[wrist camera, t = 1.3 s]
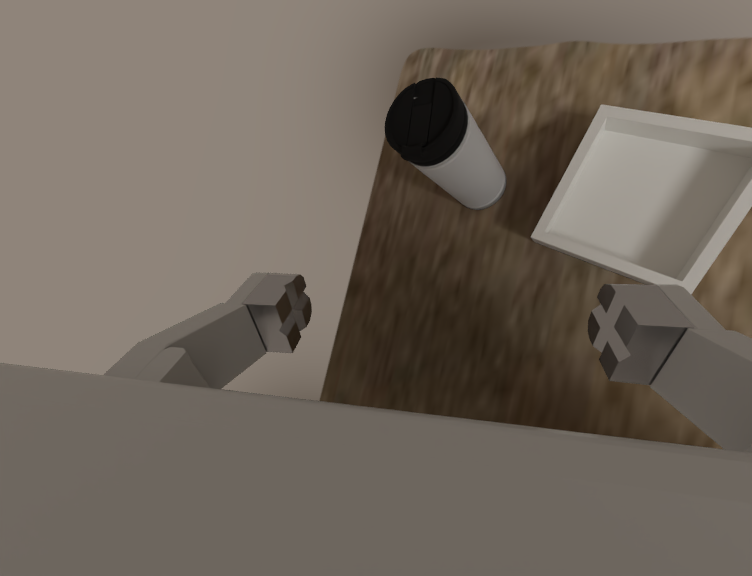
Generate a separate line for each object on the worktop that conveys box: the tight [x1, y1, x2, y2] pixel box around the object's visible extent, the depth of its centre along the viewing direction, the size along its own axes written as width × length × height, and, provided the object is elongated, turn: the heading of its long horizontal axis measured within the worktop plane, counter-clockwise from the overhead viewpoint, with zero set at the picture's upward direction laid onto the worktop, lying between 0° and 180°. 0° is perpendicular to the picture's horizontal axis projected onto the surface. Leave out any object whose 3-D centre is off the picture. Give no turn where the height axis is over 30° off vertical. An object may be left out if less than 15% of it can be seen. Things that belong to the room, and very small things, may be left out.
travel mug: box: [385, 78, 506, 210], centre depth 33 cm, size 6×7×20 cm
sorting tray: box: [531, 104, 752, 294], centre depth 31 cm, size 14×14×4 cm
